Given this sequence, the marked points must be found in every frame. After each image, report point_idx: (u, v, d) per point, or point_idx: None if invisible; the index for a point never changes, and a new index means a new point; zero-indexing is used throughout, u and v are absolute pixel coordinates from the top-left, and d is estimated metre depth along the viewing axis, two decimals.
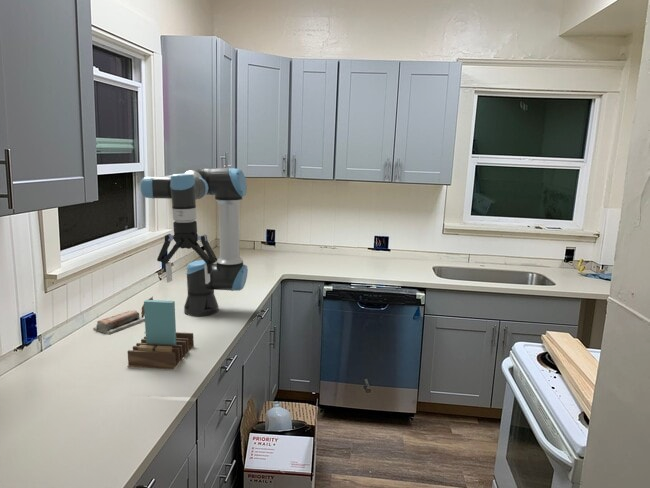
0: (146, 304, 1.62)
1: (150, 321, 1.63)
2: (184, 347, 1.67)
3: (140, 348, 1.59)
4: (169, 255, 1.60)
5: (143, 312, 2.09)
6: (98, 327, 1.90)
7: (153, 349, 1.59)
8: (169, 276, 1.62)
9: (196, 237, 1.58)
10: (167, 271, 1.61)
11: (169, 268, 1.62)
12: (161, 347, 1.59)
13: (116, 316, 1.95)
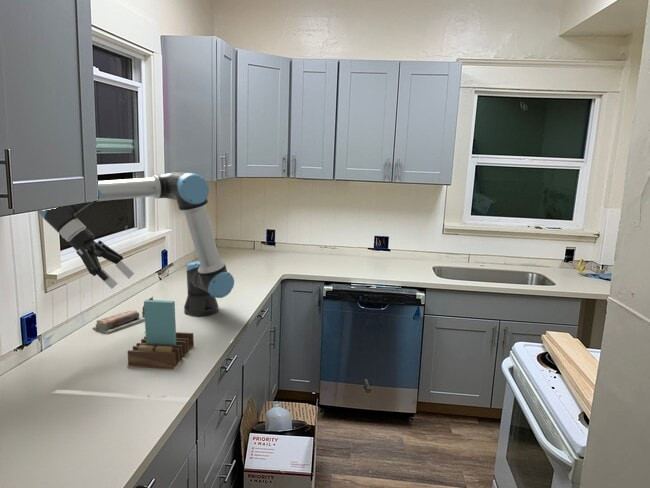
0: (146, 304, 1.62)
1: (150, 321, 1.63)
2: (184, 347, 1.67)
3: (140, 348, 1.59)
4: None
5: None
6: (97, 327, 1.90)
7: (153, 349, 1.59)
8: (126, 273, 1.68)
9: None
10: (121, 270, 1.68)
11: (121, 267, 1.68)
12: (161, 347, 1.59)
13: (116, 316, 1.96)
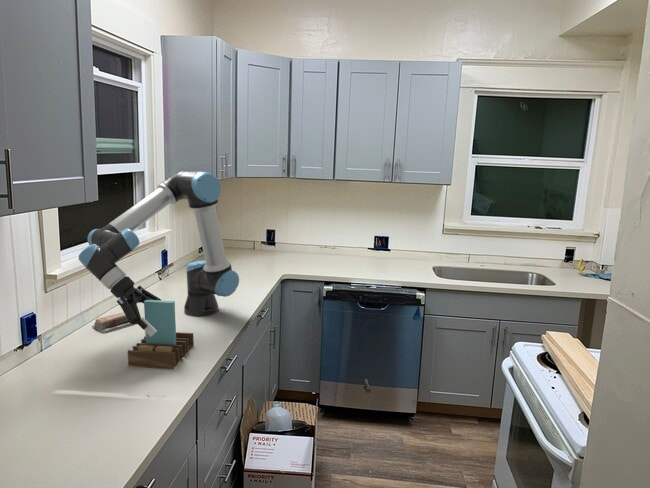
0: (146, 304, 1.62)
1: (150, 321, 1.63)
2: (184, 347, 1.67)
3: (140, 348, 1.59)
4: None
5: None
6: (95, 325, 1.91)
7: (153, 349, 1.59)
8: None
9: None
10: None
11: None
12: (161, 347, 1.59)
13: (115, 315, 1.96)
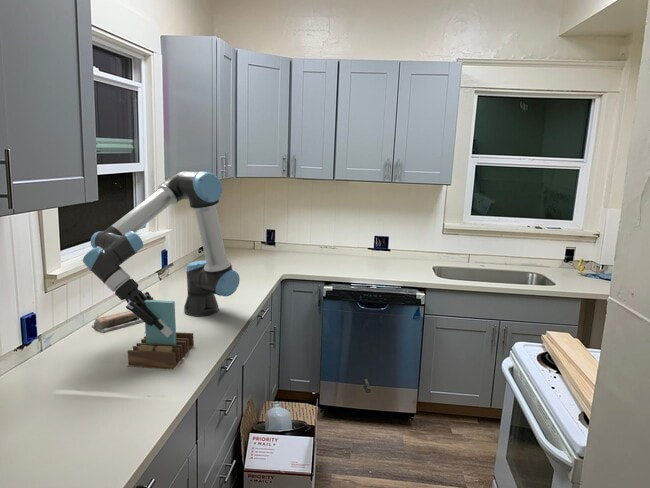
0: (146, 304, 1.62)
1: None
2: (184, 347, 1.67)
3: (140, 348, 1.59)
4: None
5: None
6: (95, 325, 1.92)
7: (153, 349, 1.59)
8: None
9: (128, 302, 1.59)
10: None
11: None
12: (161, 347, 1.59)
13: (115, 315, 1.97)
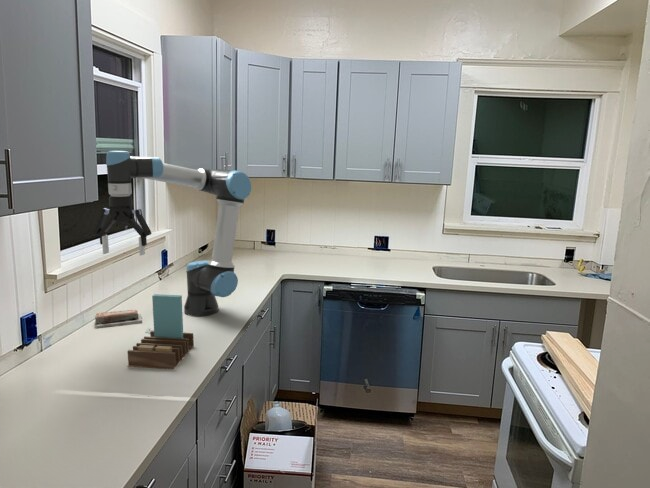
0: (154, 298, 1.69)
1: (158, 314, 1.70)
2: (184, 347, 1.67)
3: (140, 348, 1.59)
4: (105, 228, 1.69)
5: None
6: None
7: (153, 349, 1.59)
8: (105, 248, 1.71)
9: (131, 211, 1.67)
10: (103, 243, 1.70)
11: (105, 240, 1.71)
12: (161, 347, 1.59)
13: (115, 312, 2.00)
